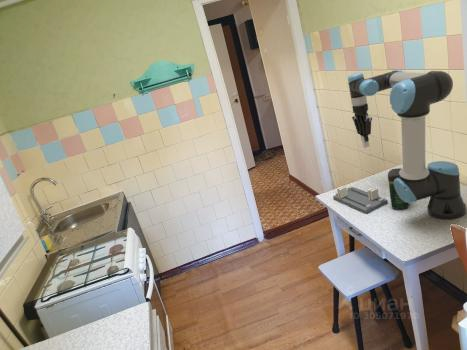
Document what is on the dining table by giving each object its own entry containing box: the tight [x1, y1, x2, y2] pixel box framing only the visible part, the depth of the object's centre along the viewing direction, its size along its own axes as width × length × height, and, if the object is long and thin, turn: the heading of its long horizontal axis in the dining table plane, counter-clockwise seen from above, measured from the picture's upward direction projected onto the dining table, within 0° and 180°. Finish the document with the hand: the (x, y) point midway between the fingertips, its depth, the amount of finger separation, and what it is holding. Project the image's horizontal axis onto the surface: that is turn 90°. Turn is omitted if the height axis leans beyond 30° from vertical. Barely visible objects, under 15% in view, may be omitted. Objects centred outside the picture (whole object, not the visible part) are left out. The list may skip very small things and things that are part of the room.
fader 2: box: [366, 186, 380, 200], centre depth 192 cm, size 3×4×5 cm
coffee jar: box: [387, 167, 410, 211], centre depth 181 cm, size 10×8×19 cm
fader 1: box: [336, 185, 348, 198], centre depth 203 cm, size 3×4×5 cm
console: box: [332, 186, 389, 215], centre depth 198 cm, size 26×14×3 cm, turn 22°
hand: (366, 146), depth 201 cm, fingers closed
